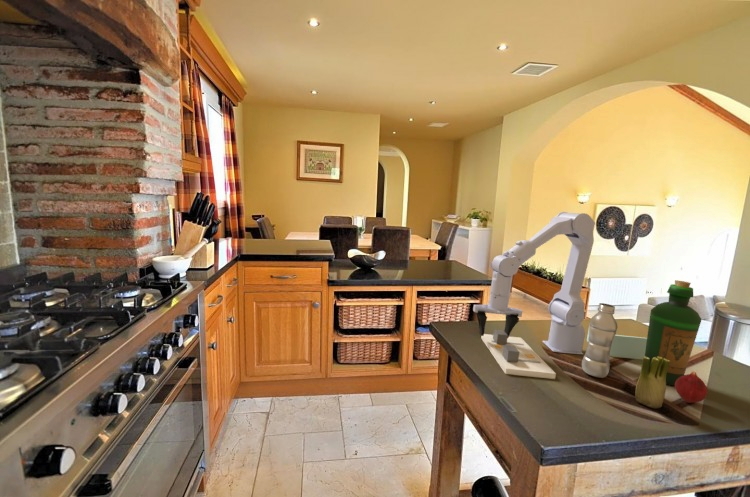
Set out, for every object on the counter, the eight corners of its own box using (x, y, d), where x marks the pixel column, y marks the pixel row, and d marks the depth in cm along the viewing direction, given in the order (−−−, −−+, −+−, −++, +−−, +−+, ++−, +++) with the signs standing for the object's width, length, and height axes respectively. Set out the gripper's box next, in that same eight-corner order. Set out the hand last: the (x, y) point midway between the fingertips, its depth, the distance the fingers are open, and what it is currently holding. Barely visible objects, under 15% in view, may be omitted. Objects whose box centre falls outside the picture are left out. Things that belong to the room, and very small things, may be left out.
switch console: (520, 341, 114) (520, 337, 113) (555, 379, 90) (556, 373, 90) (481, 337, 114) (481, 333, 114) (505, 373, 90) (506, 367, 90)
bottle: (675, 392, 89) (699, 287, 85) (630, 372, 98) (649, 277, 94) (693, 385, 94) (717, 286, 90) (648, 366, 103) (668, 276, 99)
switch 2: (512, 355, 98) (514, 345, 97) (517, 362, 94) (519, 351, 93) (502, 354, 98) (503, 344, 97) (506, 361, 94) (508, 350, 93)
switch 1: (502, 339, 110) (503, 330, 109) (506, 344, 106) (507, 335, 105) (492, 338, 110) (494, 329, 109) (496, 343, 106) (498, 334, 105)
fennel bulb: (633, 404, 81) (643, 356, 79) (631, 395, 85) (640, 349, 83) (664, 414, 78) (675, 364, 76) (660, 404, 82) (671, 357, 80)
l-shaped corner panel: (646, 361, 108) (650, 339, 107) (608, 357, 109) (612, 335, 108) (620, 345, 120) (624, 325, 119) (586, 342, 120) (589, 322, 119)
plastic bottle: (603, 372, 97) (616, 304, 94) (611, 383, 90) (625, 310, 87) (577, 366, 99) (590, 300, 96) (583, 377, 92) (596, 306, 89)
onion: (709, 411, 81) (717, 380, 80) (682, 406, 82) (689, 375, 81) (692, 398, 86) (699, 368, 85) (666, 393, 87) (673, 364, 86)
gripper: (479, 295, 102) (473, 338, 104) (528, 300, 101) (521, 343, 103) (473, 289, 109) (468, 329, 111) (519, 293, 108) (513, 334, 110)
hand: (493, 335), depth 107 cm, fingers open, 7 cm apart
